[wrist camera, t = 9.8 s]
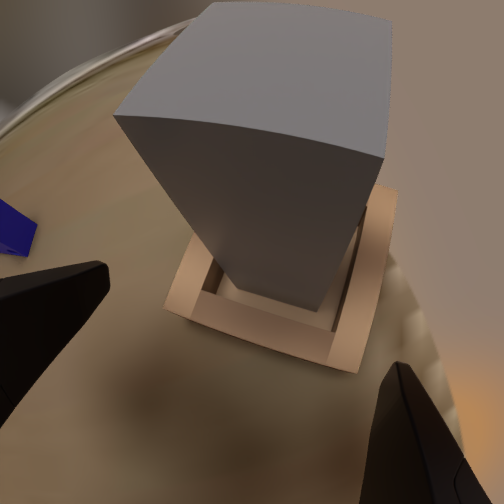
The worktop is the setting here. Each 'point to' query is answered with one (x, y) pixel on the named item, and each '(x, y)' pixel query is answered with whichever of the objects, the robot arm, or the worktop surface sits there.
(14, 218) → the cable clip
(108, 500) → the worktop surface
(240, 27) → the plain gray rectangular block
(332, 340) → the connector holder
